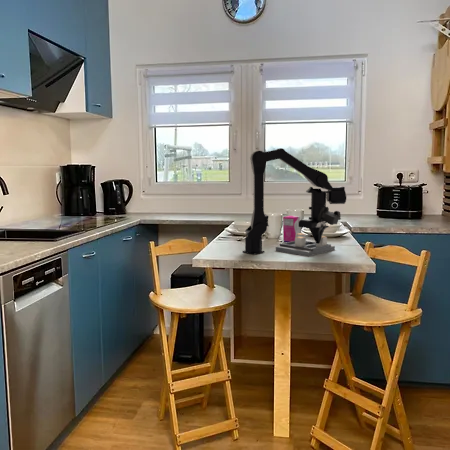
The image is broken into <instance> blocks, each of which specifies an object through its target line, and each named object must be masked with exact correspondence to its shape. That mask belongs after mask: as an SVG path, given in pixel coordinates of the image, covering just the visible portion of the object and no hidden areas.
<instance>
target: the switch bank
mask: <svg viewBox="0 0 450 450" xmlns="http://www.w3.org/2000/svg"><path fill="white" fill-rule="evenodd" d="M335 248H336V247H335V245H332V243H327V245H324V246H320V247H316V242H315V241H312V240H311V241H310V240H306V246H302V247H300V246H295V241H291V242H283V243H279V246H275V252H276V251H277V252H281V253H287V254H294V255H299V256H304V257H311V256H315V255H319V254H324V253H326V252H331V251H335V250H336V249H335Z"/></svg>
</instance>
